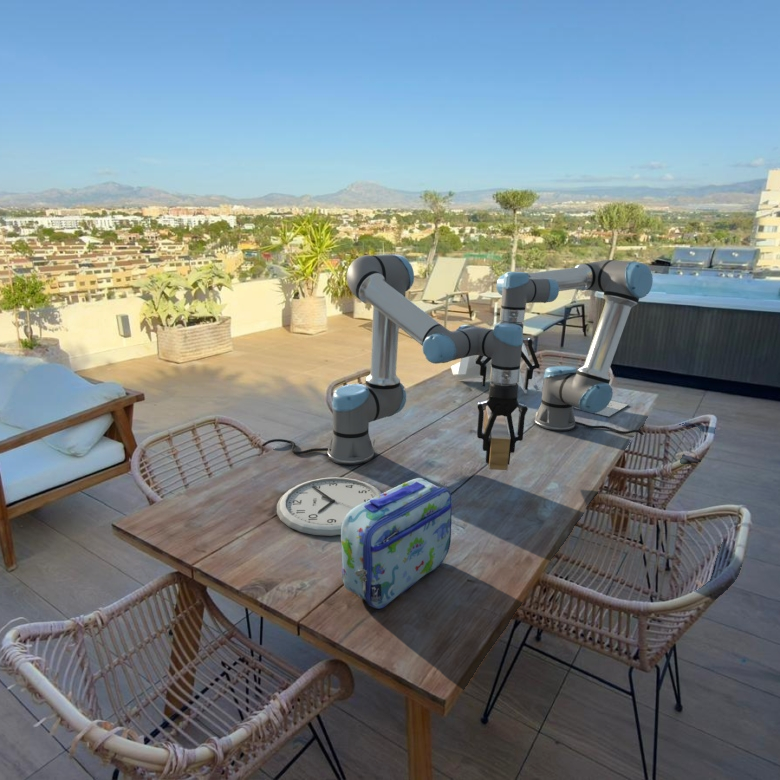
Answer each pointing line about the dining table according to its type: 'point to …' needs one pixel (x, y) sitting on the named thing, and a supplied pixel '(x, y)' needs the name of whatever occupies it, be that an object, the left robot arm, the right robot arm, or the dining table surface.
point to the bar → (498, 442)
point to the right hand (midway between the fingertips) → (504, 387)
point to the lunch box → (395, 540)
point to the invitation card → (611, 408)
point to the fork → (441, 485)
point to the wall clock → (323, 504)
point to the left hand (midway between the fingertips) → (497, 461)
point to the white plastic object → (472, 370)
